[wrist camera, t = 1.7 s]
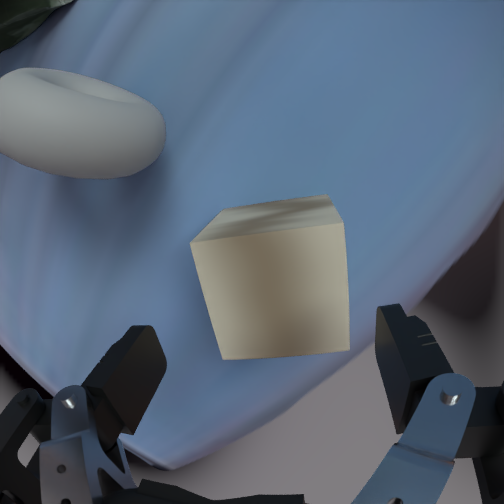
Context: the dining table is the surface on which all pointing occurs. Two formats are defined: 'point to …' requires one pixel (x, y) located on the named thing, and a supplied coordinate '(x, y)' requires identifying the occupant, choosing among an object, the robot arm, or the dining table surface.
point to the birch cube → (276, 278)
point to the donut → (77, 125)
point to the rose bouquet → (23, 18)
